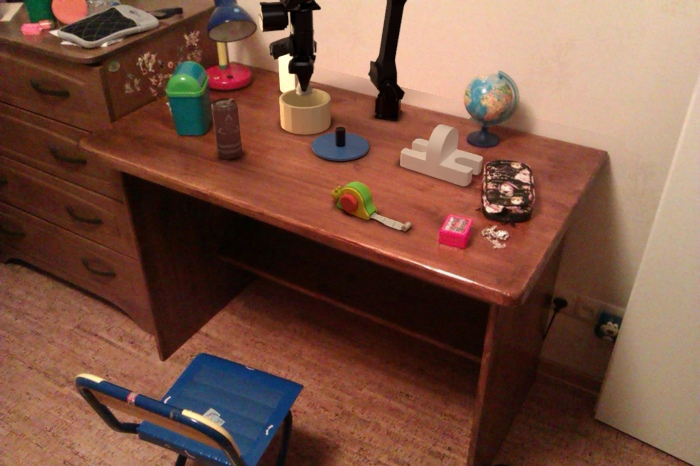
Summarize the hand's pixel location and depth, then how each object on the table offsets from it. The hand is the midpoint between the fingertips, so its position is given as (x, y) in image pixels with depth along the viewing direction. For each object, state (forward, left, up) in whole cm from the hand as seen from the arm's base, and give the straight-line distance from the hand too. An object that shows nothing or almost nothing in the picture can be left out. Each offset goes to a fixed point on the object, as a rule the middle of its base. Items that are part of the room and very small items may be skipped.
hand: (304, 88), depth 160 cm
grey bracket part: (-40, +12, -11) cm, 43 cm away
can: (+11, +23, -11) cm, 27 cm away
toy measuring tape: (-30, +37, -11) cm, 49 cm away
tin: (0, 0, -11) cm, 11 cm away
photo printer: (+11, -17, -11) cm, 23 cm away
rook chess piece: (0, 0, -2) cm, 2 cm away
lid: (-14, +10, -10) cm, 20 cm away
